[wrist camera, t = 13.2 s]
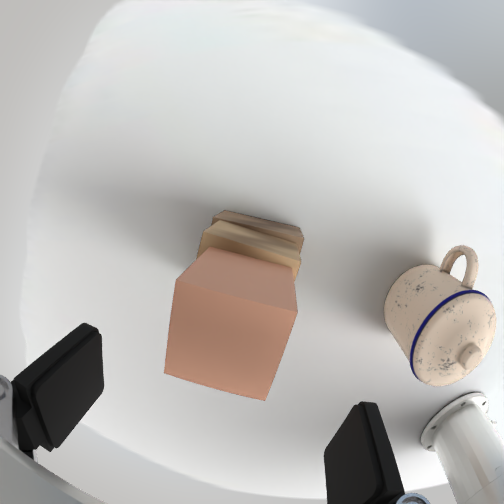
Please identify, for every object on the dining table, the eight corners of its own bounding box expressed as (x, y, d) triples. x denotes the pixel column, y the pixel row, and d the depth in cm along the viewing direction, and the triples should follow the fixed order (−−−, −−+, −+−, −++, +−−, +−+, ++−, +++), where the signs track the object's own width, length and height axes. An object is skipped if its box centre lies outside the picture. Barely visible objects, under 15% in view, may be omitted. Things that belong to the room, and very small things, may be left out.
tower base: (299, 227, 26) (304, 238, 22) (281, 296, 28) (281, 320, 23) (225, 210, 27) (213, 217, 22) (211, 280, 29) (198, 300, 24)
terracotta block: (291, 267, 17) (297, 312, 11) (270, 338, 18) (265, 400, 13) (209, 246, 17) (176, 279, 11) (195, 319, 19) (164, 372, 13)
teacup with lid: (433, 342, 28) (479, 404, 17) (368, 334, 28) (404, 407, 17) (469, 245, 25) (540, 278, 14) (405, 223, 25) (474, 253, 14)
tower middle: (296, 243, 22) (301, 261, 17) (272, 312, 23) (270, 345, 18) (219, 219, 22) (203, 231, 17) (201, 290, 23) (182, 317, 19)
